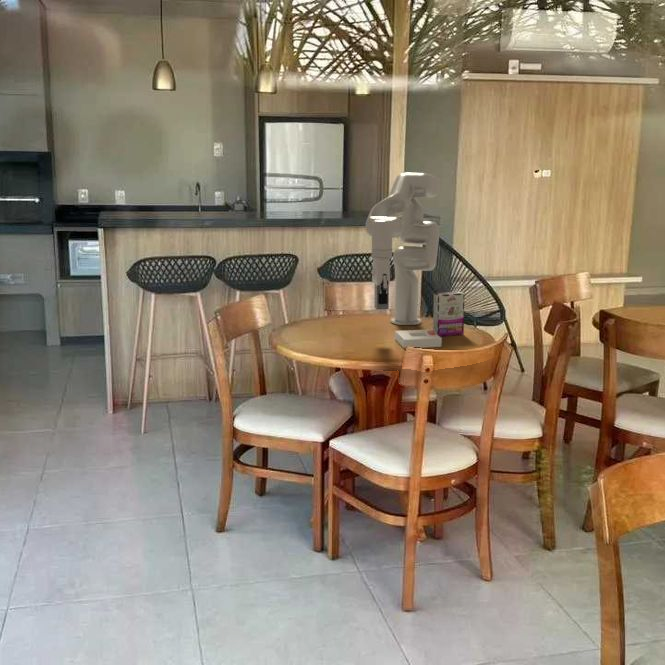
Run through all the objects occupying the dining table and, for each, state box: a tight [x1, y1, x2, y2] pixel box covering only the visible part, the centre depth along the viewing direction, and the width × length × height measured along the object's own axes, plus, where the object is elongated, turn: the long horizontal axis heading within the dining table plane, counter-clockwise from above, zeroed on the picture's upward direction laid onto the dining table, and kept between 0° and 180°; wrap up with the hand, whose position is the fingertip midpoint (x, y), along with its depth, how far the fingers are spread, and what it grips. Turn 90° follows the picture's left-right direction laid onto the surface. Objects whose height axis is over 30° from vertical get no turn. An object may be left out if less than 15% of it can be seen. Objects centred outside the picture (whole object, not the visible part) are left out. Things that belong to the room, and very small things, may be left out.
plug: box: [373, 283, 390, 311], centre depth 284 cm, size 4×4×11 cm
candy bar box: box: [432, 291, 465, 337], centre depth 295 cm, size 11×5×16 cm, turn 106°
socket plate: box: [394, 328, 443, 349], centre depth 284 cm, size 14×14×4 cm
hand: (381, 302), depth 284 cm, fingers closed on plug, 4 cm apart
